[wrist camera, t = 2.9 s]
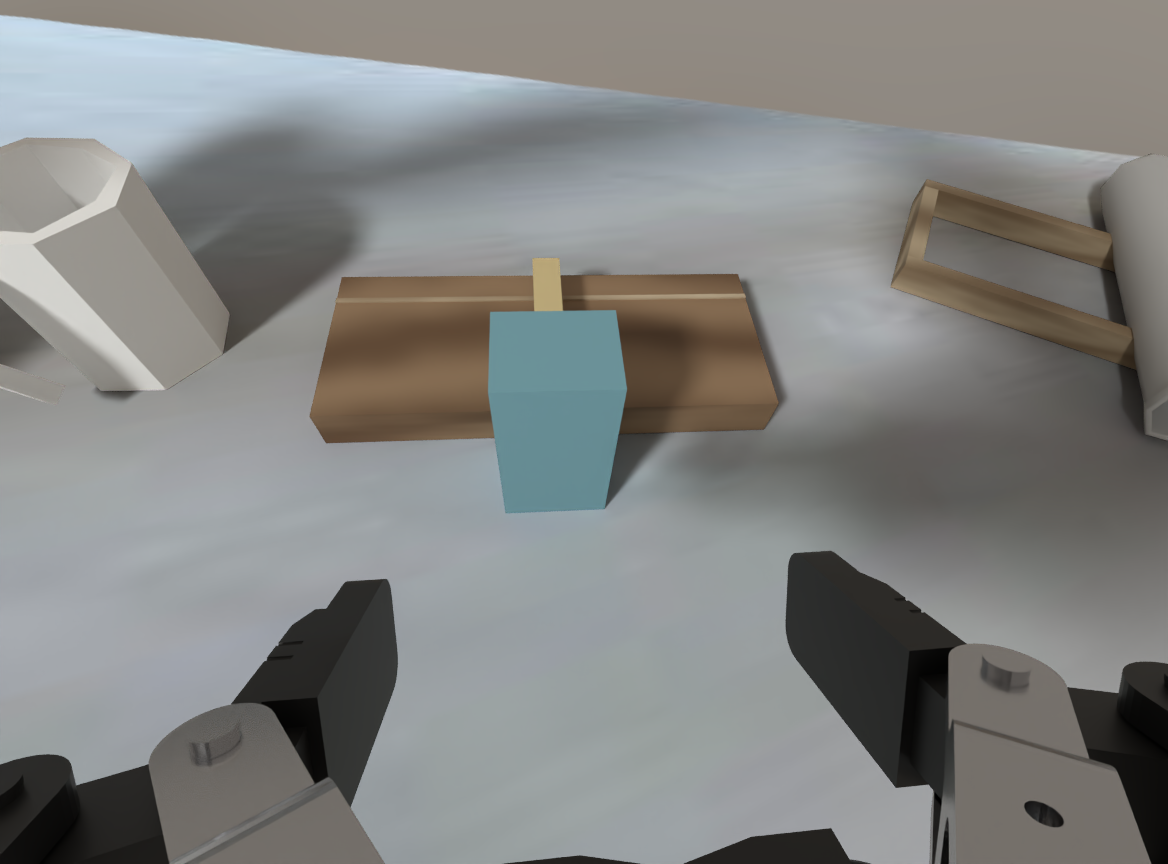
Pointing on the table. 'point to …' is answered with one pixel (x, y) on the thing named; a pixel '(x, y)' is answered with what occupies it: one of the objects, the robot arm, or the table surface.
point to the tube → (1143, 273)
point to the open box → (463, 304)
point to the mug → (100, 271)
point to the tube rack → (997, 299)
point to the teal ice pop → (555, 400)
